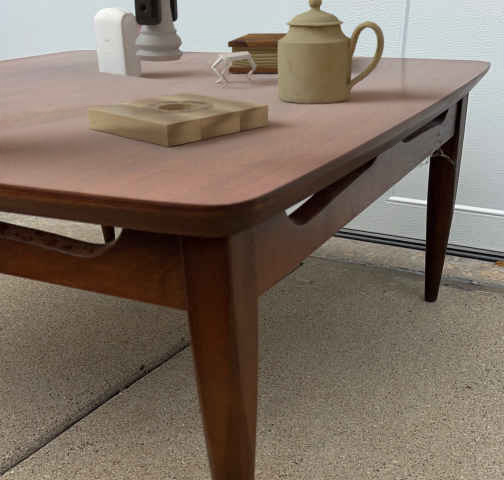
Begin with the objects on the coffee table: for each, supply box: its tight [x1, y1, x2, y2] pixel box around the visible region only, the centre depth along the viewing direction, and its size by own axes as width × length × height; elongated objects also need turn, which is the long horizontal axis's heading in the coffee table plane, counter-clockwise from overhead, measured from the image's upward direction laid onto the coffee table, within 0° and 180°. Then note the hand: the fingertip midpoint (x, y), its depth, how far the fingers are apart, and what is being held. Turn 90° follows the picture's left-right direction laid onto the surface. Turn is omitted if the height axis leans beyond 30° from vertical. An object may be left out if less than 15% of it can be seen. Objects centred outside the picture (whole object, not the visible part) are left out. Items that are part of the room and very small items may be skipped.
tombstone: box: [93, 6, 142, 78], centre depth 129 cm, size 10×4×12 cm, turn 44°
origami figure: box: [210, 51, 257, 89], centre depth 119 cm, size 12×8×5 cm
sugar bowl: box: [277, 0, 385, 105], centre depth 102 cm, size 15×11×15 cm
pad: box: [87, 92, 269, 148], centre depth 87 cm, size 16×16×2 cm
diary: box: [227, 32, 287, 74], centre depth 141 cm, size 23×19×6 cm
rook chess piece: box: [135, 0, 184, 62], centre depth 62 cm, size 4×4×8 cm
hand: (157, 22), depth 62 cm, fingers closed on rook chess piece, 3 cm apart
